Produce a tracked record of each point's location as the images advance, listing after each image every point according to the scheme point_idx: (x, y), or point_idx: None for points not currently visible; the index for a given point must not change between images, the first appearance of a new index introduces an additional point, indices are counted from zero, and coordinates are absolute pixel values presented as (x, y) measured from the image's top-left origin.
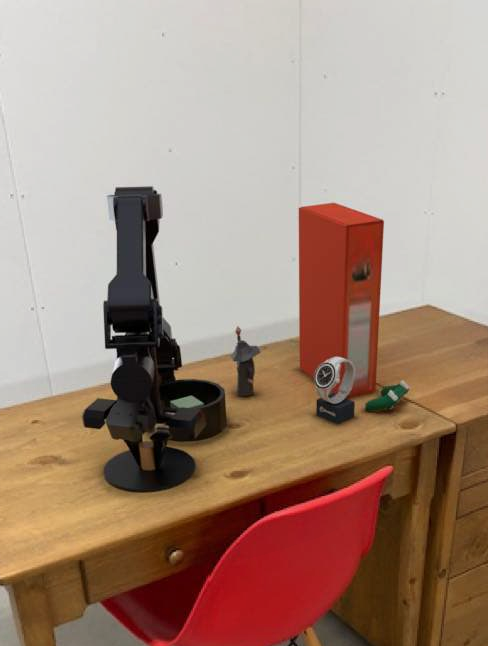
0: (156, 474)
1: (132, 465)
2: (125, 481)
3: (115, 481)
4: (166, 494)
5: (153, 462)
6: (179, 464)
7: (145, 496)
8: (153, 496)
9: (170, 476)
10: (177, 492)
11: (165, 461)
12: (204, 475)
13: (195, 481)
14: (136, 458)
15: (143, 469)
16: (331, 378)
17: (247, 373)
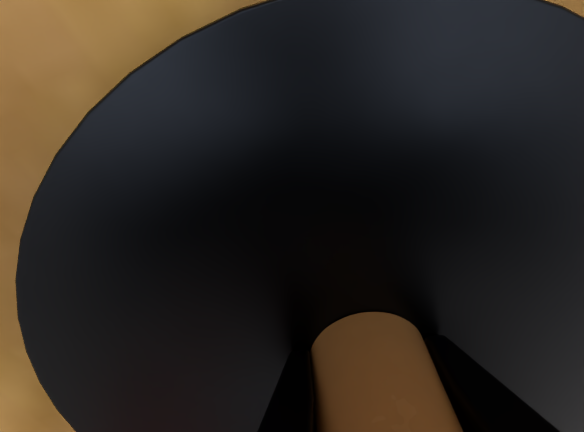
0: (260, 290)
1: (494, 331)
2: (468, 103)
3: (568, 66)
4: (68, 112)
5: (321, 386)
6: (189, 428)
7: (212, 11)
8: (146, 39)
9: (141, 300)
10: (14, 170)
11: None
12: (29, 393)
13: None
14: (480, 384)
15: (392, 314)
16: None
17: None
